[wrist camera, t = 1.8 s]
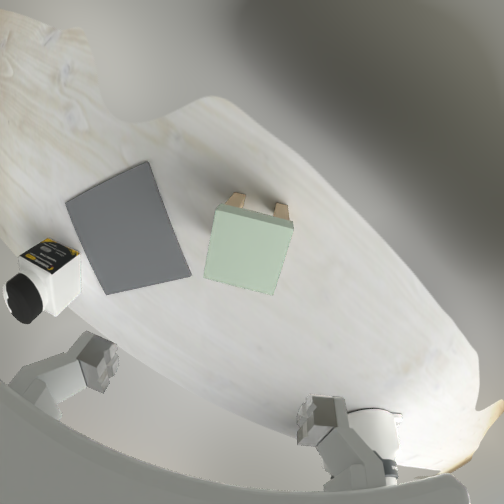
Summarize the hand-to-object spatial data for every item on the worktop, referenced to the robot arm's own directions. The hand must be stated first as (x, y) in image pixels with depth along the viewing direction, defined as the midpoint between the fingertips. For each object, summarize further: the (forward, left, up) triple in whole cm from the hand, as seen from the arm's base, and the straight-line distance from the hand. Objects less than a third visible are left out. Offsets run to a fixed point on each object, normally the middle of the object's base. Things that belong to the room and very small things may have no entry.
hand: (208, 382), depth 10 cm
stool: (0, 0, -21) cm, 21 cm away
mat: (+3, +16, -21) cm, 26 cm away
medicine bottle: (+2, +29, -21) cm, 36 cm away
